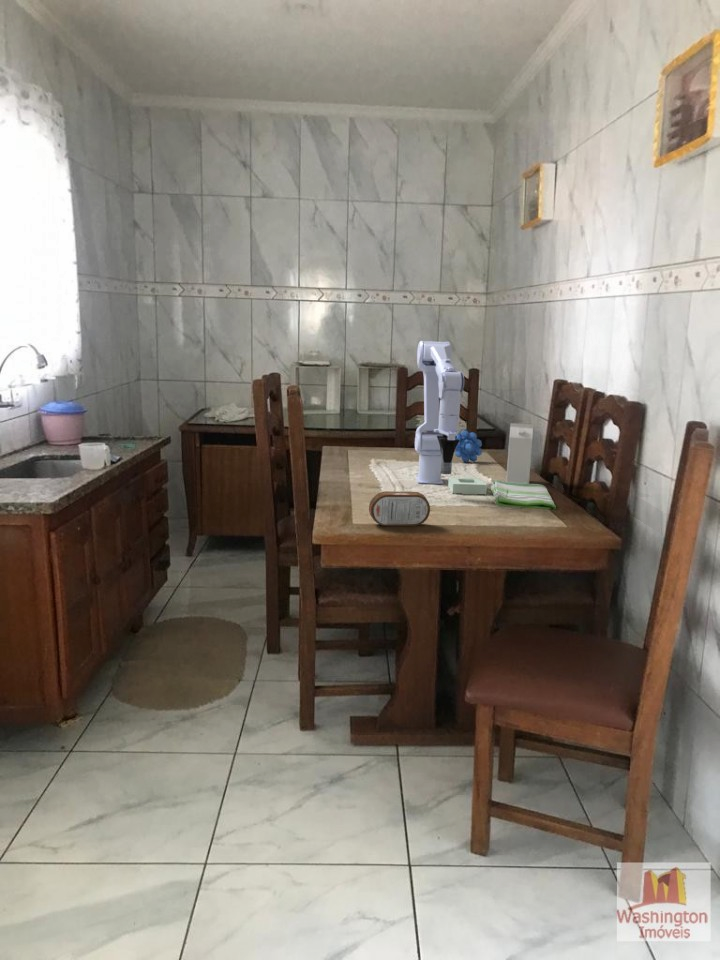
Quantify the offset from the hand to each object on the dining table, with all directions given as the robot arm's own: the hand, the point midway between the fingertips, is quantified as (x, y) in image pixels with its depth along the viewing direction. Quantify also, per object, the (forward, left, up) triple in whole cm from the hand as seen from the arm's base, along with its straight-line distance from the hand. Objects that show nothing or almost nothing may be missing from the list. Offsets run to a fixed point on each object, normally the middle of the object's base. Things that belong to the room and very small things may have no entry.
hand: (446, 461), depth 210 cm
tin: (+33, -16, -11) cm, 38 cm away
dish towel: (0, +23, -11) cm, 25 cm away
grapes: (-57, +16, -11) cm, 60 cm away
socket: (-9, +8, -10) cm, 16 cm away
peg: (0, 0, -3) cm, 3 cm away
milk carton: (-24, +27, -11) cm, 38 cm away
